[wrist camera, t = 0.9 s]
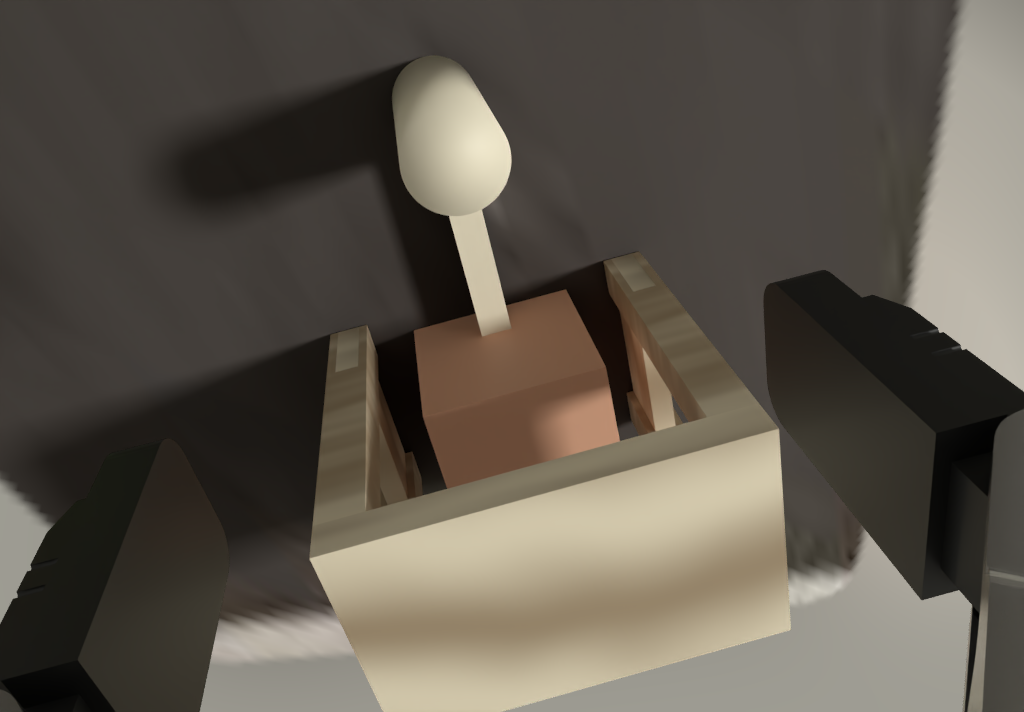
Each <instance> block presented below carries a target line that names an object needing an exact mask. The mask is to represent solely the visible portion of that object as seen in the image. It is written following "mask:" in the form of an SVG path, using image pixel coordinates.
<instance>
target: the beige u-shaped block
mask: <svg viewBox="0 0 1024 712" xmlns="http://www.w3.org/2000/svg"><path fill="white" fill-rule="evenodd" d="M603 262H604V268H605V274H606V279H607V285H608V291H609V294H610V296H611V298H612V299H613V301H614V302H615V304H616V306H617V307H618V309H619V310H620V315H621V321H622V327H623V333H624V339H625V344H626V350H627V356H628V362H629V368H630V374H631V380H632V386H633V391H631V392H627V399H628V404H629V410H630V416H631V420H632V422H633V424H634V426H635V428H636V430H637V432H638V434H639V436H637V437H634V438H630V439H626V440H623V441H619V442H616V443H612V444H608V445H605V446H601V447H597V448H594V449H590V450H586V451H583V452H579V453H576V454H572V455H568V456H565V457H561V458H557V459H554V460H550V461H547V462H543V463H539V464H536V465H532V466H528V467H525V468H521V469H518V470H514V471H510V472H507V473H503V474H499V475H496V476H492V477H488V478H485V479H481V480H478V481H474V482H470V483H467V484H463V485H459V486H456V487H452V488H449V489H445V490H441V491H438V492H434V493H430V494H427V495H423V491H422V480H421V475H420V472H419V469H418V467H417V464H416V461H415V458H414V455H413V453H412V452H408V453H405V452H404V449H403V446H402V444H401V441H400V438H399V435H398V433H397V430H396V427H395V424H394V422H393V419H392V416H391V413H390V411H389V408H388V405H387V402H386V400H385V397H384V394H383V391H382V389H381V386H380V383H379V380H378V355H377V352H376V349H375V346H374V343H373V341H372V338H371V335H370V332H369V329H368V327H367V325H364V326H361V327H357V328H353V329H349V330H346V331H342V332H338V333H335V334H331V336H330V346H329V357H328V367H327V378H326V389H325V399H324V410H323V420H322V431H321V442H320V452H319V463H318V474H317V484H316V495H315V505H314V516H313V527H312V537H311V548H310V561H311V563H312V565H313V567H314V569H315V571H316V573H317V575H318V577H319V579H320V581H321V583H322V586H323V588H324V590H325V592H326V594H327V596H328V598H329V600H330V602H331V604H332V606H333V608H334V610H335V613H336V615H337V617H338V619H339V621H340V623H341V625H342V627H343V629H344V631H345V633H346V635H347V638H348V640H349V642H350V644H351V646H352V648H353V650H354V652H355V654H356V656H357V658H358V660H359V662H360V665H361V666H362V669H363V671H364V673H365V675H366V677H367V679H368V681H369V683H370V685H371V687H372V690H373V692H374V693H375V696H376V698H377V700H378V702H379V704H380V706H381V708H382V710H383V712H502V711H505V710H509V709H513V708H517V707H520V706H524V705H527V704H531V703H534V702H538V701H541V700H544V699H548V698H552V697H555V696H559V695H563V694H566V693H570V692H573V691H577V690H580V689H584V688H587V687H591V686H594V685H598V684H601V683H605V682H609V681H612V680H615V679H619V678H623V677H626V676H630V675H633V674H636V673H640V672H644V671H647V670H651V669H654V668H658V667H661V666H665V665H669V664H672V663H675V662H679V661H683V660H686V659H690V658H693V657H697V656H700V655H704V654H707V653H711V652H714V651H718V650H722V649H725V648H729V647H732V646H736V645H739V644H743V643H746V642H750V641H753V640H757V639H760V638H764V637H767V636H771V635H775V634H778V633H782V632H785V631H788V630H791V625H790V607H789V590H788V574H787V557H786V540H785V524H784V507H783V491H782V474H781V457H780V441H779V428H778V427H777V426H776V425H775V423H774V422H773V421H772V419H771V418H770V417H769V416H768V414H767V413H766V412H765V411H764V409H763V408H762V407H761V406H760V404H759V403H758V402H757V400H756V399H755V398H754V397H753V395H752V394H751V393H750V392H749V390H748V389H747V388H746V387H745V385H744V384H743V383H742V381H741V380H740V379H739V378H738V376H737V375H736V374H735V373H734V371H733V370H732V369H731V367H730V366H729V365H728V364H727V362H726V361H725V360H724V359H723V357H722V356H721V355H720V354H719V352H718V351H717V350H716V348H715V347H714V346H713V345H712V343H711V342H710V341H709V340H708V338H707V337H706V336H705V335H704V333H703V332H702V331H701V329H700V328H699V327H698V326H697V324H696V323H695V322H694V321H693V319H692V318H691V317H690V316H689V314H688V313H687V312H686V310H685V309H684V308H683V307H682V305H681V304H680V303H679V302H678V300H677V299H676V298H675V296H674V295H673V294H672V293H671V291H670V290H669V289H668V288H667V286H666V285H665V284H664V283H663V281H662V280H661V279H660V277H659V276H658V275H657V274H656V272H655V271H654V270H653V269H652V267H651V266H650V265H649V264H648V262H647V261H646V260H645V258H644V257H643V256H642V255H641V253H640V252H635V253H631V254H628V255H624V256H620V257H616V258H613V259H609V260H605V261H603ZM671 394H672V395H673V397H674V399H675V400H676V402H677V403H678V405H679V407H680V408H681V410H682V411H683V413H684V415H685V416H686V418H687V419H688V421H689V422H688V423H684V424H683V423H682V421H681V419H680V418H679V416H678V415H677V413H676V411H675V410H674V408H673V404H672V397H671Z"/></svg>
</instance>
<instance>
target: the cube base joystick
mask: <svg viewBox="0 0 1024 712" xmlns="http://www.w3.org/2000/svg"><path fill="white" fill-rule="evenodd" d="M392 106H393V114H394V123H395V131H396V140H397V149H398V157H399V166H400V172H401V176H402V179H403V182H404V184H405V186H406V188H407V190H408V191H409V193H410V194H411V196H412V197H413V198H414V199H415V200H416V201H417V202H418V203H420V204H421V205H422V206H424V207H425V208H427V209H428V210H431V211H433V212H435V213H438V214H441V215H447V216H449V218H450V222H451V225H452V229H453V232H454V236H455V240H456V243H457V247H458V251H459V254H460V258H461V262H462V265H463V269H464V272H465V276H466V280H467V283H468V287H469V291H470V294H471V298H472V302H473V305H474V309H475V313H476V314H473V315H469V316H465V317H461V318H458V319H454V320H450V321H447V322H443V323H439V324H436V325H432V326H428V327H424V328H421V329H417V330H414V337H415V347H416V357H417V366H418V376H419V385H420V395H421V404H422V414H423V419H424V422H425V425H426V428H427V431H428V434H429V437H430V439H431V442H432V445H433V448H434V451H435V454H436V457H437V460H438V463H439V466H440V469H441V472H442V475H443V478H444V481H445V484H446V487H447V489H449V488H452V487H456V486H459V485H463V484H467V483H470V482H474V481H478V480H481V479H485V478H488V477H492V476H496V475H499V474H503V473H507V472H510V471H514V470H518V469H521V468H525V467H528V466H532V465H536V464H539V463H543V462H547V461H550V460H554V459H557V458H561V457H565V456H568V455H572V454H576V453H579V452H583V451H586V450H590V449H594V448H597V447H601V446H605V445H608V444H612V443H616V442H619V441H620V440H619V434H618V429H617V424H616V418H615V413H614V408H613V402H612V397H611V391H610V386H609V381H608V375H607V370H606V366H605V364H604V362H603V360H602V358H601V356H600V354H599V353H598V351H597V349H596V347H595V345H594V343H593V341H592V339H591V337H590V335H589V333H588V331H587V329H586V327H585V325H584V323H583V321H582V320H581V318H580V316H579V314H578V312H577V310H576V308H575V306H574V304H573V302H572V300H571V298H570V296H569V294H568V292H567V290H566V289H565V290H561V291H558V292H554V293H550V294H547V295H543V296H539V297H535V298H532V299H528V300H524V301H521V302H517V303H513V304H510V305H506V304H505V300H504V296H503V292H502V288H501V285H500V281H499V277H498V273H497V269H496V265H495V261H494V257H493V253H492V249H491V245H490V241H489V237H488V233H487V229H486V225H485V221H484V217H483V213H482V209H483V208H485V207H486V206H488V205H489V204H490V203H492V202H493V201H494V200H495V199H496V198H497V197H498V196H499V194H500V193H501V191H502V190H503V188H504V186H505V185H506V182H507V180H508V177H509V174H510V169H511V151H510V146H509V143H508V140H507V138H506V136H505V134H504V132H503V130H502V129H501V127H500V125H499V124H498V122H497V120H496V119H495V117H494V115H493V114H492V112H491V110H490V109H489V107H488V105H487V104H486V102H485V100H484V99H483V97H482V95H481V94H480V92H479V90H478V89H477V87H476V85H475V84H474V82H473V80H472V79H471V77H470V75H469V74H468V72H467V71H466V70H465V69H464V68H463V67H462V66H461V65H460V64H458V63H457V62H455V61H453V60H451V59H449V58H446V57H442V56H425V57H421V58H418V59H416V60H414V61H412V62H411V63H409V64H408V65H407V66H406V67H405V68H404V69H403V70H402V71H401V72H400V74H399V75H398V77H397V79H396V81H395V84H394V87H393V92H392Z"/></svg>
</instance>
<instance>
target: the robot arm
mask: <svg viewBox="0 0 1024 712" xmlns="http://www.w3.org/2000/svg"><path fill="white" fill-rule="evenodd" d="M764 324H765V345H766V367H767V384H768V390H769V395H770V398H771V402H772V405H773V408H774V410H775V412H776V415H777V417H778V419H779V420H780V422H781V424H782V425H783V427H784V428H785V429H786V430H787V432H788V433H789V434H790V435H791V437H792V438H793V439H794V440H795V442H796V443H797V444H798V445H799V447H800V448H801V449H802V450H803V452H804V453H805V454H806V456H807V457H808V458H809V459H810V461H811V462H812V463H813V464H814V466H815V467H816V468H817V469H818V471H819V472H820V473H821V474H822V476H823V477H824V478H825V479H826V481H827V482H828V483H829V484H830V486H831V487H832V488H833V489H834V491H835V492H836V493H837V494H838V496H839V497H840V498H841V500H842V501H843V502H844V503H845V505H846V506H847V507H848V508H849V510H850V511H851V512H852V513H853V515H854V516H855V517H856V518H857V520H858V521H859V522H860V523H861V525H862V526H863V527H864V528H865V530H866V531H867V532H868V533H869V535H870V536H871V537H872V538H873V540H874V541H875V542H876V544H877V545H878V546H879V547H880V549H881V550H882V551H883V552H884V554H885V555H886V556H887V557H888V559H889V560H890V561H891V562H892V564H893V565H894V566H895V567H896V568H897V570H898V571H899V572H900V574H901V575H902V576H903V577H904V579H905V580H906V581H907V582H908V584H909V585H910V586H911V587H912V588H913V590H914V591H915V593H916V594H917V595H918V596H919V597H920V599H921V600H924V599H928V598H932V597H935V596H939V595H943V594H946V593H950V592H953V591H957V590H960V591H961V593H962V594H963V595H964V596H965V597H966V598H967V600H969V602H970V603H971V604H972V608H971V616H970V623H969V635H968V649H967V661H966V674H965V687H964V700H963V712H1024V392H1023V391H1022V390H1021V389H1019V388H1018V387H1016V386H1015V385H1014V384H1012V383H1011V382H1010V381H1008V380H1007V379H1006V378H1004V377H1003V376H1002V375H1000V374H999V373H998V372H996V371H995V370H994V369H992V368H991V367H990V366H988V365H987V364H986V363H984V362H983V361H982V360H980V359H979V358H978V357H976V356H975V355H974V354H972V353H971V352H969V351H968V350H967V349H965V350H962V349H961V345H960V344H959V343H957V342H956V341H955V340H953V339H952V338H951V337H949V336H948V335H947V334H945V333H944V332H942V333H939V331H938V328H937V327H936V326H935V325H933V324H932V323H930V322H929V321H928V320H926V319H925V318H924V317H922V316H921V315H920V314H918V313H917V312H916V311H914V310H913V309H912V308H909V307H906V306H904V305H901V304H898V303H895V302H892V301H889V300H886V299H883V298H881V297H878V296H875V295H871V296H867V297H863V298H862V297H860V296H859V295H858V294H857V293H855V292H854V291H853V290H852V289H850V288H849V287H848V286H846V285H845V284H844V283H843V282H841V281H840V280H839V279H838V278H836V277H835V276H834V275H833V274H831V273H830V272H828V271H826V270H821V271H817V272H813V273H809V274H805V275H801V276H797V277H794V278H790V279H786V280H782V281H778V282H774V283H770V284H769V285H768V286H767V287H766V289H765V292H764ZM31 568H32V569H31V571H27V573H26V575H25V577H24V579H23V581H22V582H21V585H20V586H19V589H18V590H17V594H18V598H15V599H13V600H12V602H11V604H10V606H9V608H8V610H7V612H6V614H5V616H4V618H3V620H2V622H1V624H0V712H199V711H200V707H201V702H202V697H203V693H204V688H205V683H206V678H207V673H208V669H209V664H210V659H211V654H212V650H213V645H214V640H215V635H216V630H217V626H218V621H219V616H220V611H221V606H222V601H223V597H224V592H225V587H226V582H227V577H228V573H229V549H228V543H227V539H226V535H225V532H224V529H223V527H222V525H221V522H220V520H219V519H218V517H217V515H216V513H215V511H214V509H213V507H212V505H211V503H210V501H209V500H208V498H207V496H206V494H205V492H204V490H203V488H202V486H201V484H200V482H199V481H198V479H197V477H196V475H195V473H194V471H193V469H192V467H191V465H190V463H189V462H188V460H187V458H186V456H185V454H184V452H183V451H182V449H181V448H180V446H179V445H178V444H177V443H176V442H175V441H174V440H172V439H163V440H160V441H156V442H152V443H148V444H144V445H140V446H136V447H133V448H129V449H125V450H121V451H117V452H113V453H111V454H109V455H108V456H107V457H106V459H105V461H104V463H103V465H102V467H101V469H100V471H99V473H98V475H97V477H96V480H95V482H94V484H93V486H92V488H91V490H90V492H89V494H88V496H87V499H83V500H79V501H77V502H76V503H75V504H74V505H73V506H72V507H71V508H70V509H69V510H68V511H67V512H66V513H65V514H64V515H63V516H62V517H61V518H60V519H59V521H58V522H57V523H56V524H55V525H54V526H53V527H52V528H51V529H50V530H49V531H48V532H47V533H46V535H45V538H44V539H43V542H42V543H41V545H40V547H39V549H38V551H37V553H36V555H35V557H34V559H33V561H32V563H31Z"/></svg>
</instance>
